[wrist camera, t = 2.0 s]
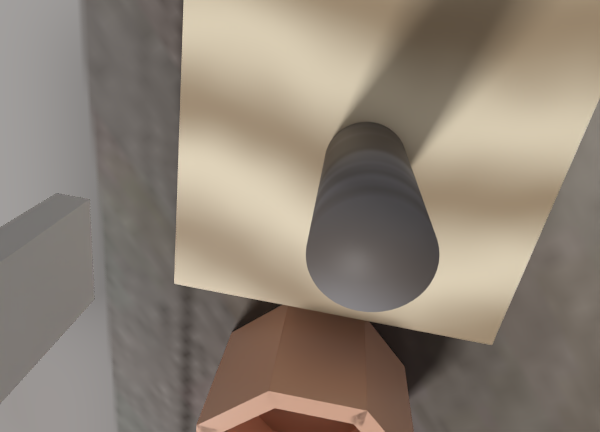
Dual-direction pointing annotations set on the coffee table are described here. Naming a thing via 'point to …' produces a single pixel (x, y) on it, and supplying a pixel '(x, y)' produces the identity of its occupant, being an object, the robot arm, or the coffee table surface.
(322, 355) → the bowl
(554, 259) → the coffee table surface
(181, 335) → the coffee table surface
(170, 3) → the coffee table surface
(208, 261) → the lid
